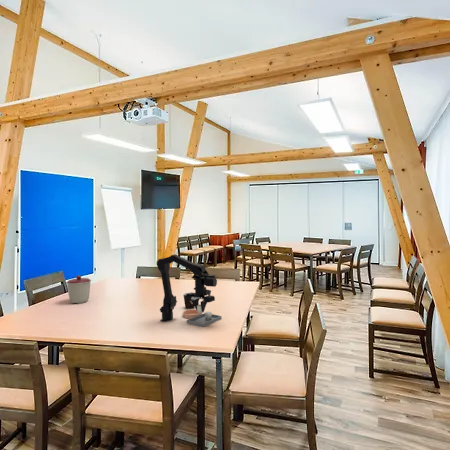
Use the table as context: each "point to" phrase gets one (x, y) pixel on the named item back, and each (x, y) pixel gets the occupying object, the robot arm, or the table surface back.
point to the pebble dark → (208, 315)
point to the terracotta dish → (190, 314)
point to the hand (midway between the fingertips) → (200, 311)
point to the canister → (78, 289)
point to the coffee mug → (188, 302)
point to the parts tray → (203, 320)
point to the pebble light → (199, 309)
